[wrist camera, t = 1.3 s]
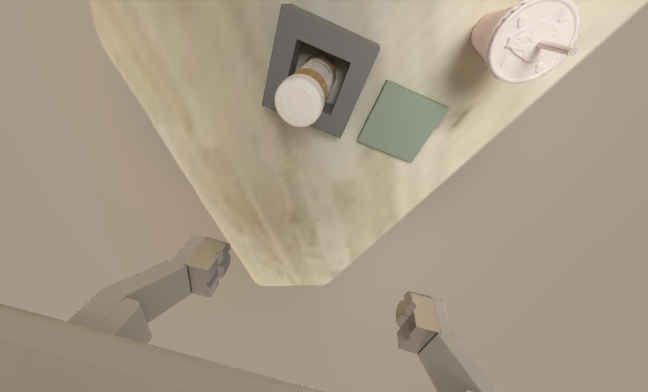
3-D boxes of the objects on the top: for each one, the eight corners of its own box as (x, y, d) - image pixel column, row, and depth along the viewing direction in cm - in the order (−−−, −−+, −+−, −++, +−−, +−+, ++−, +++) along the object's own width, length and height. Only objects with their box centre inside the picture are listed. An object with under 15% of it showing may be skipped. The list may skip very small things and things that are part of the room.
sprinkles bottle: (296, 69, 34) (263, 100, 23) (322, 45, 31) (298, 66, 21) (318, 97, 35) (296, 137, 25) (344, 76, 33) (331, 110, 23)
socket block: (291, 3, 29) (281, 4, 26) (378, 44, 30) (380, 49, 27) (271, 96, 36) (261, 105, 33) (343, 126, 37) (340, 137, 34)
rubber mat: (386, 79, 33) (387, 81, 32) (446, 106, 34) (448, 108, 33) (357, 138, 38) (357, 140, 37) (410, 159, 39) (410, 162, 38)
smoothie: (506, 64, 30) (585, 100, 19) (450, 63, 30) (495, 96, 20) (534, -4, 26) (655, -9, 15) (469, -4, 27) (539, -9, 16)
